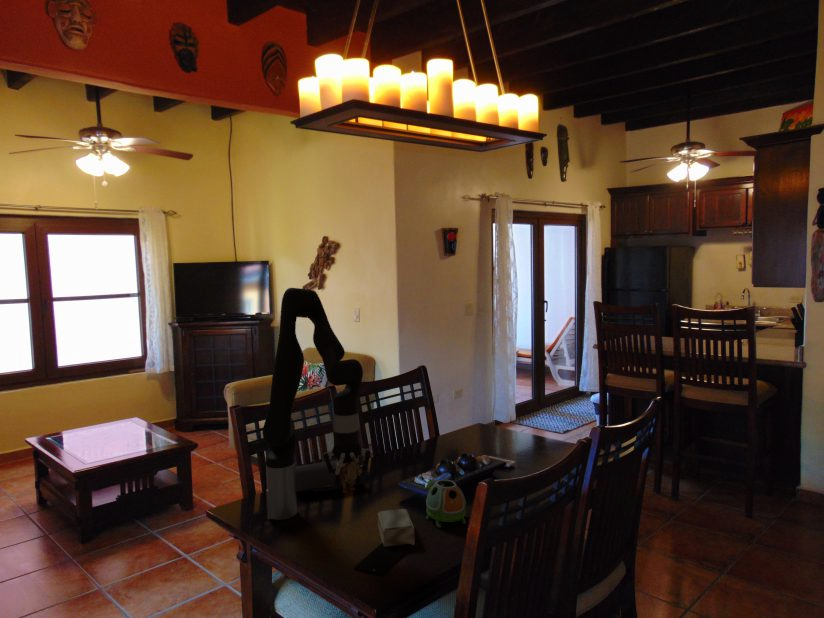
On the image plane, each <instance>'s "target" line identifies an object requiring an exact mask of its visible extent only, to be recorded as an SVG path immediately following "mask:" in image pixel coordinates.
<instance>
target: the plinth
mask: <svg viewBox="0 0 824 618" xmlns="http://www.w3.org/2000/svg"><path fill="white" fill-rule="evenodd" d="M377 529H378V533H379V536H380V539H381V543H382V542H383V545H384V547H385V546H393V545H402V544H411V545H412V546H414V545H415V544H416V543H415V527H414V524H413V522H412V520H411V517H410V515H409V512H408V510H407V509H406V508H401V509H399V508H398V509H390V510H380V511H379V512H377Z"/></svg>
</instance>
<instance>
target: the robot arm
mask: <svg viewBox="0 0 824 618" xmlns="http://www.w3.org/2000/svg"><path fill="white" fill-rule="evenodd" d="M298 318H304V319H309V320H310V322H311V323H312V324H313V334H312V341H313V345H314V348H315V349H316V351H317V352H318V354H319V355H320V358H321V359H322V363H323V366H324V367H323V368H324V372H325V376H326V377H325V378H326V380H327V381H328V383H330V384H331V385H332V386H334V387H340V386H344V389H342V390H341V391H339V392H337V393H335V394H334V395H333V417H332V418H333V419H332V424H333V425H332V429H333V430H332V431H333V432H332V433H333V447H332V450H330V451H324V452H323V458H324V462H326V464H327V467H328V471H329V473H334V474H335V484H336V485H338V487H340V469H341V467H342V464H343V463H347V462H348V463H350V462H356V465H357V466H358V467H359V468H361V469H362V472H363V471H366V470H367V467H368V465H369V461H370V456H371V450H370V448H368V447H367V448H363V447H362V446H361V442H360V440H361V439H360V417H359V407H358V404H359V403H358V399H359V394H360V390H361V385H362V382H363V377H364V371H363V370H364V369H363V366H362V364H361V362H360V361H359V360H358V359H354V358H352V359H351V358H350V359H345V360H344V359H343V358H344V356H345V353H346V352H345V348H344V346H343V344H342V343H341V342H340V340H339V339H338V336H336V334H335V332H334V330H333V328H332V326H331V324H330V322H329V318H328V316H327V313H326V310H325V309H324V306H323V303H322V301H321V298H320V296H319V294H318V293H317V292H316V291H315V290H311V289H309V288H308V289H307V288H300V287H288V288H287V289H286V290H285V291H284V292H283V294H282V299H281V307H280V318H279V329H278V331H279V332H278V338H277V339H278V340H277V346H276V352H275V357H274V363H273V369H272V376H271V378H272V379H271V387H270V397H269V398H270V399H269V404H268V408H267V412H266V413H267V414H266V417H265V420H264V424H263V427H262V437H263V441H264V443H266V445H267V448H266V455H265V470H266V472H265V473H266V475H265V476H266V510H267V511H266V512H267V520H273V519H274V520H273V521H283V520H284V521H285V520H289V519H291V518H293V517H295V516H297V513H298V509H297V506H298V505H297V491H296V482H295V467H296V464H295V463H296V462H295V461H296V460H295V457H296V455H295V454H296V426H295V422H294V420H293V418H292V410H293V405H294V402H295V399H296V395H297V393H298V390H299V387H300V384H301V380H302V376H303V369H304V364H305V356H304V353H303V350H302V347H301V344H300V342H299V340H298V337H297V331H296V330H297V329H296V326H297V319H298ZM360 454H362V455H361V456H362V457H363V458H362V462H361V464H359V463H358V460H357V459H358V457H359V456H360ZM333 456H334V457H335V458H336V461H337V464H336V467H335V468H333V467H332V464H331V461H332V460H331V459H332V457H333ZM360 483H361V474H360V475H357V477H356V479H355V483H354V484H355V486H359V484H360ZM340 488H341V487H340Z"/></svg>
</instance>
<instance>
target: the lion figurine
mask: <svg viewBox="0 0 824 618" xmlns="http://www.w3.org/2000/svg"><path fill="white" fill-rule="evenodd" d="M362 472H363V471H362V469H361V468H359V467H358V466H357V465H356V462H350V463H343V464H342V467H341V469H340V476H341V477H342V484H343V486H342V493H347V492H348V488H347V485H346V482H348V483H350V484H349V489H350V490H351V491H355V490H356V487H354V483H353V482H354V479H356V477H357V475H360V476H361V473H362Z"/></svg>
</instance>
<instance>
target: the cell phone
mask: <svg viewBox="0 0 824 618" xmlns="http://www.w3.org/2000/svg"><path fill="white" fill-rule="evenodd" d="M412 549H413V545H411V544H402V545H393V546H385V547H384V545H383V542H382V541H381V543H380V544H379V545H378V546H376V548H374V549H373V550H372V551H371V552H369V554H367V556H365V557H364V558H363V559H362V560H360V561H359V563H357V564H356V565H355V566H354V570H355V571H357V570H359V571H358V572H361V571H362V573H365V572H366V573H365V574H370V575H373V576H377V577H384V575H386V573H388V571H390V570H391V569H392V568H393V567H394V566H395V565H396V564H397V563H398V562H399V561H400V560H401V559H402V558H403V557H404V556H405V555H406V554H407V553H408V552H409V551H410V550H412ZM405 553H406V554H405ZM404 554H405V555H404ZM403 555H404V556H403ZM402 556H403V557H402ZM401 557H402V558H401ZM400 558H401V559H400ZM399 559H400V560H399ZM398 560H399V561H398ZM397 561H398V562H397ZM396 562H397V563H396ZM395 563H396V564H395ZM394 564H395V565H394ZM393 565H394V566H393ZM392 566H393V567H392ZM391 567H392V568H391ZM390 568H391V569H390ZM389 569H390V570H389Z"/></svg>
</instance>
